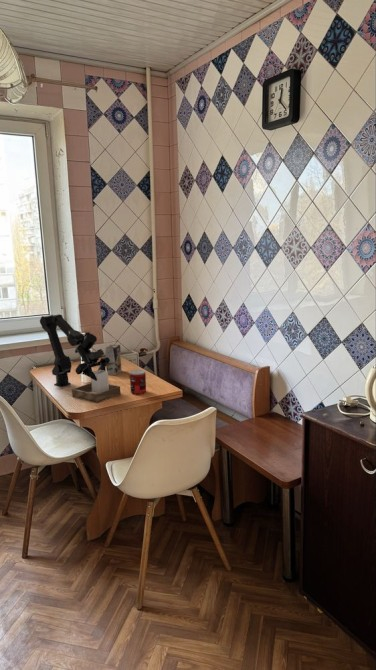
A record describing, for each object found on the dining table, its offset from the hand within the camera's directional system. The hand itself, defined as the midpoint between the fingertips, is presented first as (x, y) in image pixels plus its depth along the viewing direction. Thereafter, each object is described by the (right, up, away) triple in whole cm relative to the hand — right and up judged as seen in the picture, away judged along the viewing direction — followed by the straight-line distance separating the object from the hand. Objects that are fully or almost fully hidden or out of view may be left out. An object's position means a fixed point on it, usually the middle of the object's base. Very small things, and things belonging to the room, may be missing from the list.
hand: (101, 378), depth 237 cm
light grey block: (-1, -6, +2) cm, 7 cm away
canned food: (+18, -8, +6) cm, 20 cm away
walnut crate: (-3, -9, +3) cm, 10 cm away
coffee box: (0, -1, +43) cm, 43 cm away
